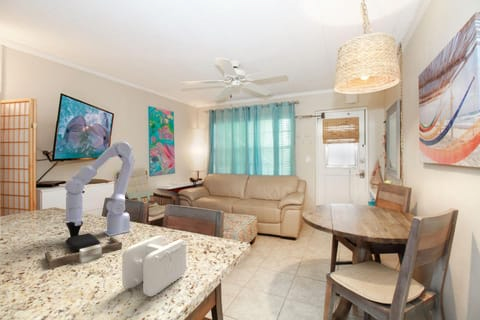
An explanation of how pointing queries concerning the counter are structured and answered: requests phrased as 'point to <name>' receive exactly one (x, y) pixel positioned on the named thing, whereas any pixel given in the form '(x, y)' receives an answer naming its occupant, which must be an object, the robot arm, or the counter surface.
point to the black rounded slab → (81, 242)
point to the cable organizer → (153, 264)
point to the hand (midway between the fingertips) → (74, 238)
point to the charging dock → (84, 254)
